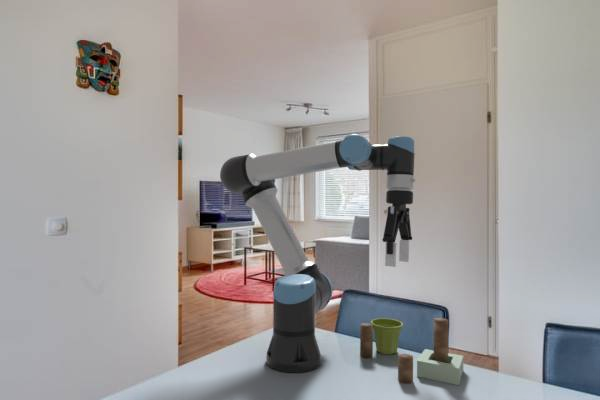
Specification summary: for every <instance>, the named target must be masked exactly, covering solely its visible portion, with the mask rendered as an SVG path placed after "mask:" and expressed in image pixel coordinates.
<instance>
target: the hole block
mask: <svg viewBox="0 0 600 400" xmlns="http://www.w3.org/2000/svg"><path fill="white" fill-rule="evenodd" d="M463 373H464V355H461V354H455V353H449V352H448V363H444V362H439V361H434V349H433V350H432V349H427V348H425V349H424V350H423V351H422V352H421V354H420V356H419V357H418V359H417V360H416V377H418V378H423V379H426V380H427V379H428V380H433V381H437V382H442V383H446V384H452V385H456V386H459V385H460V382H461V380H462V378H463V377H462V376H463Z"/></svg>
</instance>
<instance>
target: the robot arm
mask: <svg viewBox="0 0 600 400" xmlns="http://www.w3.org/2000/svg"><path fill="white" fill-rule="evenodd" d="M415 155H416V154H415V140H414V139H413V138H412V137H411V136H406V135H397V136H396V135H395V136H391V137H389V138H388V139H387V142H386V143H385V144H371V143H370V141H369V140H368V139H367V138H366V137H364V136H363V135H360V134H356V133H352V134H348V135H346V136H345V137H344V138H342V139H340V140H334V141H329V142H325V143H324V142H323V143H319V144H313V145H309V146H302V147H299V148H293V149H289V150H288V149H287V150H282V151H278V152H272V153H267V154H261V155H257V156H256V155H255V154H254V153H251V154H250V153H249V154H244V155H238V156H232V157H230V158H228V159H227V160H226V161H225V162H224V163H223V164H222V166H221V168H220V172H219V173H220V174H219V177H220V181H221V184H222V186H223V187H224V188H225V189H226V190H227V191H228V192H230V193H233V194H237V195H241V196H240V197H241V198H242V200H243V202H244V204H245V206H246V207H249V208H252V210H253V211H254V214H255V215H256V218H257V220H258V221H259V224H260V225H261V227H262V230H263V231H264V233H265V235H266V237H267V240H268V242H269V243H270V246H271V248H272V250H273V252H274V254H275V255H276V258H277V260H278V262H279V264H280V266H281V267H282V269H283V272H284V275H283V276H280V277H279V278H277V279H276V280H275V281H274V285H273V291H272V295H273V307H272V308H273V313H272V314H273V315H272V316H273V319H272V322H273V324H272V327H273V328H272V336H271V340H270V341H269V345H268V348H267V351H266V358H265V359H266V361H265V362H266V364H267V366H268V367H269V368H270V369H273V370H275V371H279V372H285V373H304V372H305V373H306V372H309V371H313V370H315V369H318V367H319V366H321V363H322V362H321V361H322V360H321V359H322V358H321V357H322V355H321V354H322V353H321V351H320V349H319V345H318V341H317V338H316V332H315V331H316V327H315V326H316V324H315V323H316V314H317V313H318V312H320V311H322V310H323V309H325V308H326V306H328V305H329V303H330V301H331V300H332V298H333V297H332V296H333V285H332V282H331V280H330V279H329V277H328V276H327V275H325V274H324V273H322V272H321V270H320V268H319V267H318V265H317V263H316V262H315V261H311V260H309V258H308V256H307V254H306V252H305V250H304V249H303V246H302V245H301V242H300V240H299V238H298V237H297V235H296V233H295V231H294V229H293V227H292V225H291V224H290V222H289V219H288V217H287V216H286V213H285V211H284V210H283V208H282V206H281V204H280V202H279V200H278V197H277V194H278V188H277V186H276V180H277V179H284V178H289V177H294V176H301V175H306V174H313V173H318V172H322V171H323V172H324V171H329V170H334V169H340V168H341V169H342V168H348V169H349V170H351V171H358V172H360V171H387V173H386V189H387V191H386V197H385V203H387V204H388V207H387V214H386V215H387V216H386V221H385V226H384V232H383V237H382V242H383V243H385V255H384V257H385V259H384V260H385V262H384V265H385V267H393V268H396V264H397V242H396V240H397V235H398V231H399V236H400V239H399V251H398V252H399V253H398V261H399V262H403V263H409V261H410V259H409V257H410V255H409V253H410V241H412V240H413V236H412V231H411V229H412V228H411V220H410V207H407V205H413V203H414V192H413V191H412V190H413V189H414V183H415V182H416V179H415V178H414V172H415ZM389 205H390V206H389Z"/></svg>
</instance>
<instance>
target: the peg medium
mask: <svg viewBox="0 0 600 400" xmlns="http://www.w3.org/2000/svg"><path fill="white" fill-rule="evenodd" d="M359 326H360V329H359V330H360V331H359V332H360V337H359V338H360V339H359V340H360V342H359V349H360V350H359V357H361V358H363V359H372V358H373V355H374V354H373V353H374V352H373V346H374V344H373V342H374V339H373V338H374V329H373V325H372V324H371V323H367V322H365V323H360V324H359Z"/></svg>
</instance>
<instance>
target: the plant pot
mask: <svg viewBox="0 0 600 400" xmlns="http://www.w3.org/2000/svg"><path fill="white" fill-rule="evenodd" d="M370 324H372V325H373V336H374V341H375V349H376V352H379V353H380V354H382V355H389V356H390V355H393V354H397V352H398V347H399V345H398V344H399V340H400V334H401V330H402V327H403V325H404V324H403V322H402V321H400V320H397V319H394V318H386V317H385V318H374V319H372V320H371V321H370Z"/></svg>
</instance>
